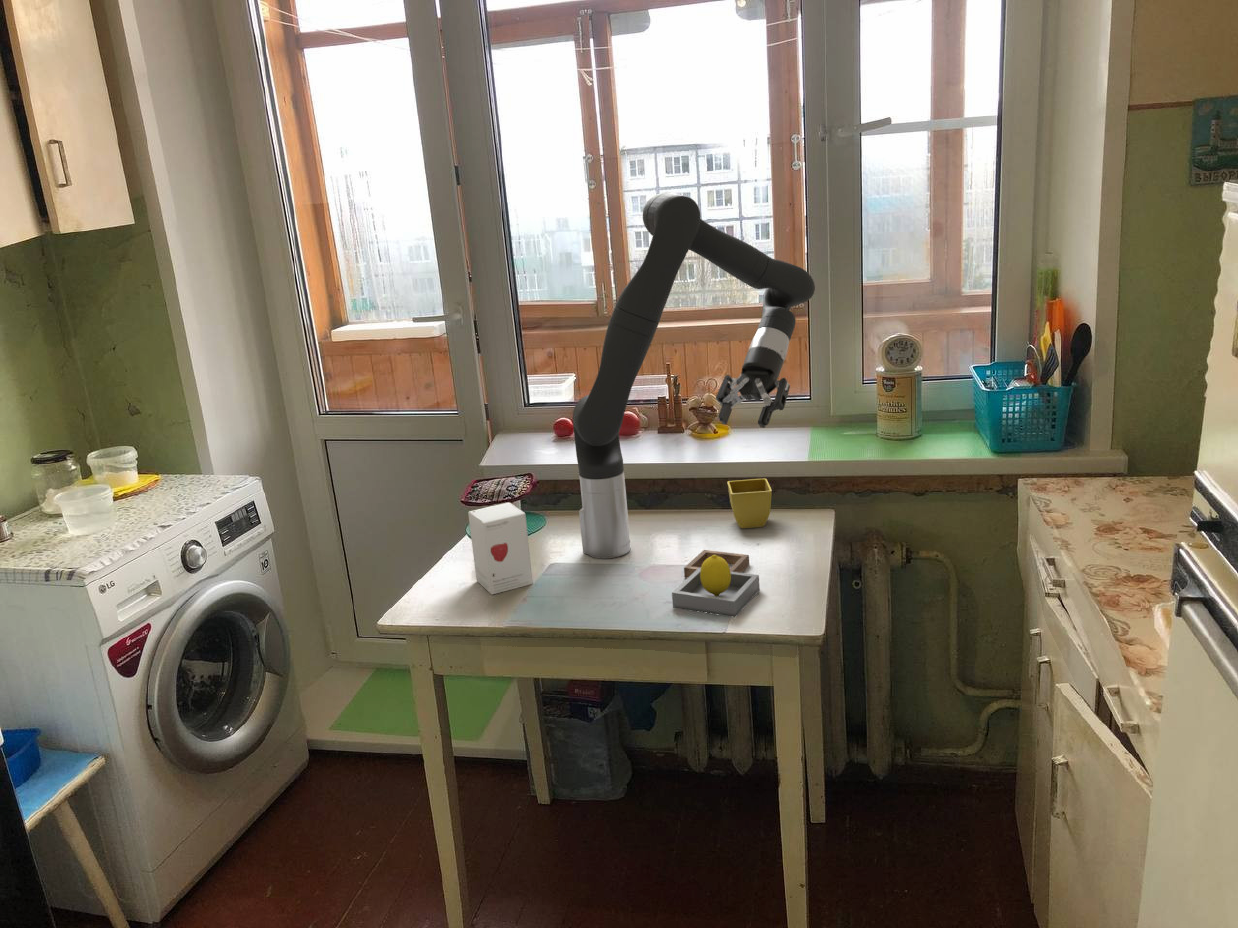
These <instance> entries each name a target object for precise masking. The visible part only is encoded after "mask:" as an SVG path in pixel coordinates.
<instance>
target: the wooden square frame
mask: <svg viewBox="0 0 1238 928" xmlns="http://www.w3.org/2000/svg"><path fill="white" fill-rule="evenodd" d="M712 555H716V556H719V557H721V558H723V559H724V560H725V561H726V562H727V563H728V565H731V567H729V568H730V571H731V572H739V573H743V572H744V571H745V569H747V567H749V565H750V556H749V554H743V553H735V552H727V551H717V550H710V549H703V550H702V551H701V552H700V553H699V554H698V555H697V556H695V557H694V558H693V559H692V560H691V561H690V562H688V564H687V565H685V566H684V567H683V574H684V578H686V579H687V578H688V577H689V576H690V575H692V574H693V573H694V572H695V571H696V570H697V569H698V568H701V566H702V564H703V562H704V561H705V560H706V559H707V558H709V557H711V556H712Z"/></svg>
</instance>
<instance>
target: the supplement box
mask: <svg viewBox="0 0 1238 928" xmlns="http://www.w3.org/2000/svg"><path fill="white" fill-rule="evenodd" d="M467 514H468V523H469V531H470V537H471V538H470V539H471V547H472V554H473V563H474V569H475V579H476V582H478V583H479V585H481V586H482V587H483V588H484V589H485V590H486V591H487V592H488V593H489V594H490V595H491V596H492V595H495V594H499V593H503V592H507V591H511V590H515V589H518V588H522V587H527V586H530V585H533V584H534V580H533V572H532V571H533V570H532V562H531V556H530V555H531V554H530V553H531V552H530V544H529V543H530V542H529V537H528V535H529V534H528V524H527V517H526V513H525V512H524V511H523V510H521V509H520V508H518V506H517V507H516V505H514V504H512V503H511V502H504V503H499V504H496V505H491V506H486V507H482V508H479V509H474V510H470V511H468V512H467Z"/></svg>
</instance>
